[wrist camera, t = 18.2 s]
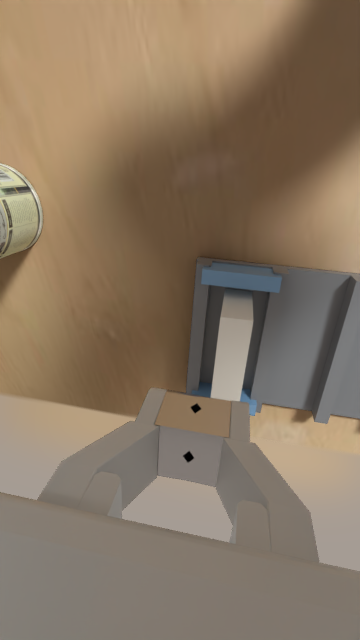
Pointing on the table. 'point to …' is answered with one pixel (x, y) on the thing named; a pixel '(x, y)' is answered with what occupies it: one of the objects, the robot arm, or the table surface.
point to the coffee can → (18, 212)
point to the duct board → (283, 336)
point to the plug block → (232, 344)
